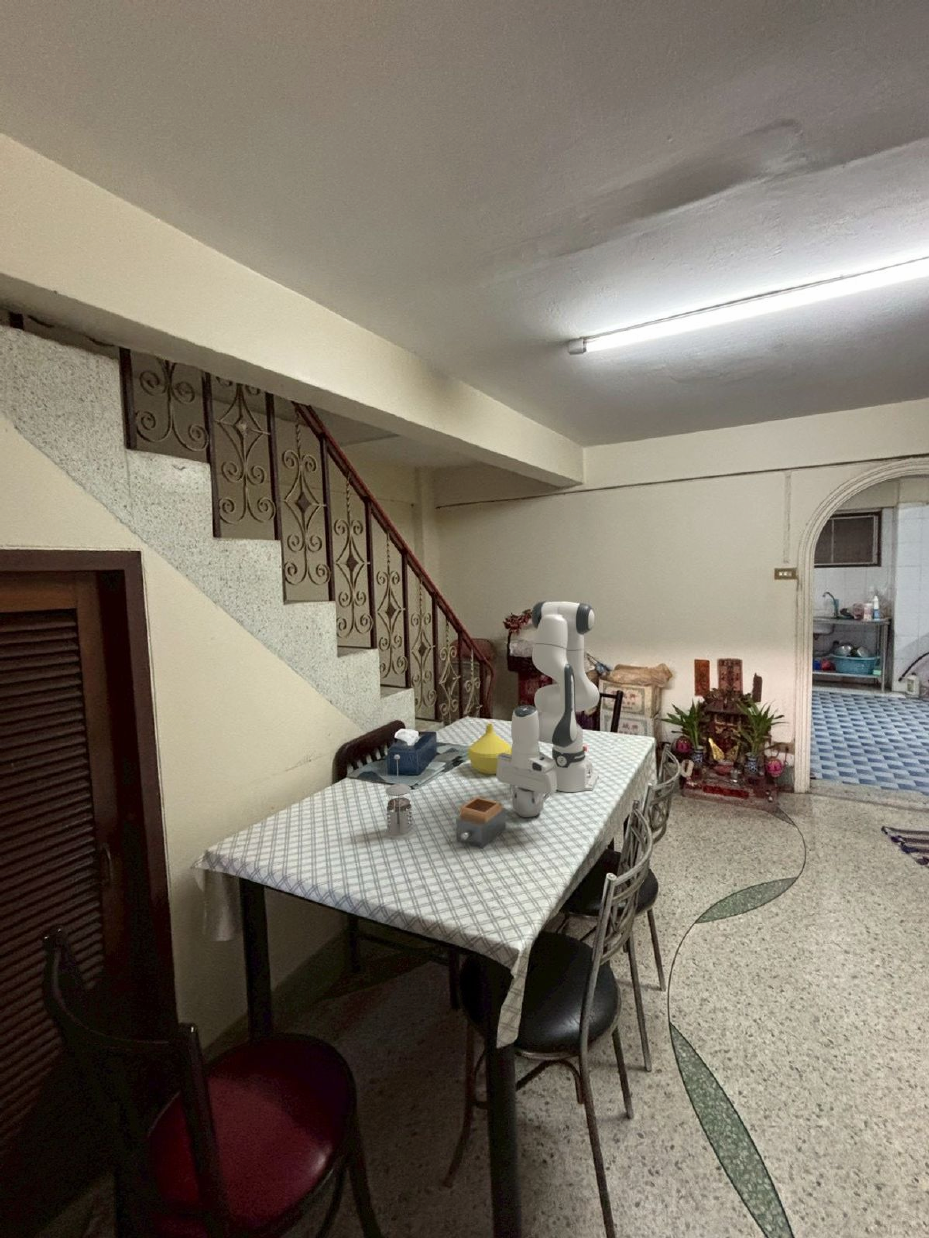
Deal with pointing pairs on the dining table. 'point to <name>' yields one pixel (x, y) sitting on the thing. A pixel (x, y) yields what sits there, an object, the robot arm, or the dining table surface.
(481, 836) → the grey box with knob
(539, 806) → the teacup
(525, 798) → the light grey rounded bottle
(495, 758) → the vase
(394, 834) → the french press
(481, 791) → the dining table surface
